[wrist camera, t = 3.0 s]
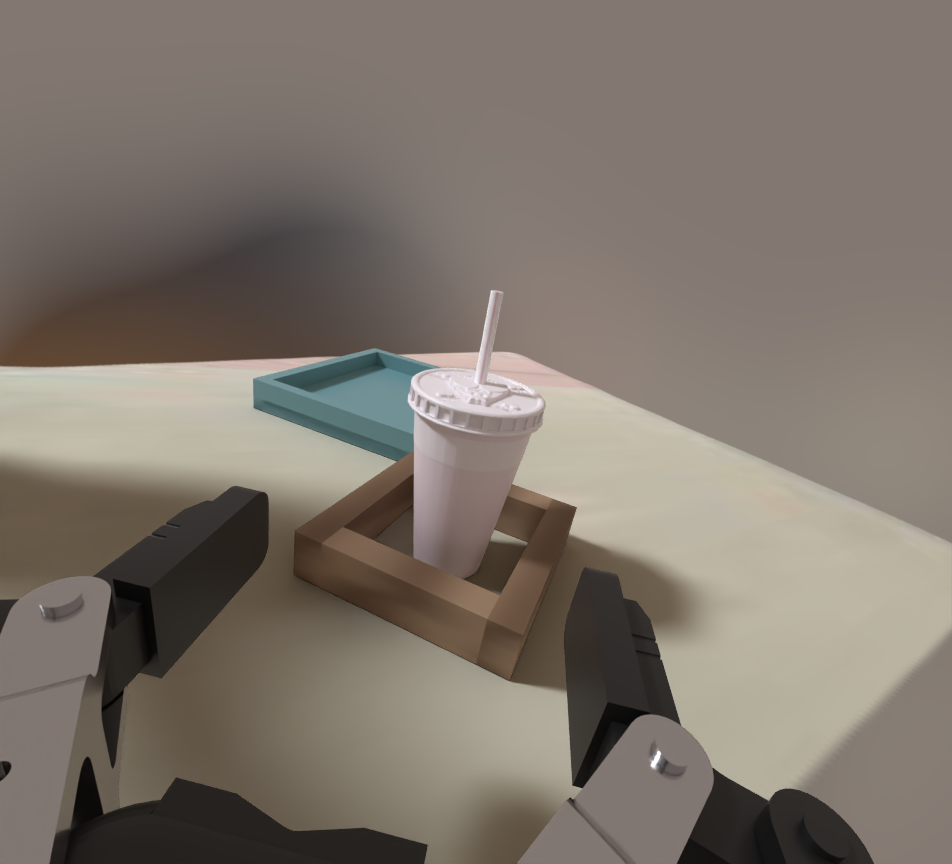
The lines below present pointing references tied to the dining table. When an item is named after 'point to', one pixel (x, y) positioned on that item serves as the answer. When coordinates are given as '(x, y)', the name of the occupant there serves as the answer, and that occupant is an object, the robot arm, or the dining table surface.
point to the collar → (434, 569)
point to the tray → (348, 399)
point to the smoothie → (466, 454)
